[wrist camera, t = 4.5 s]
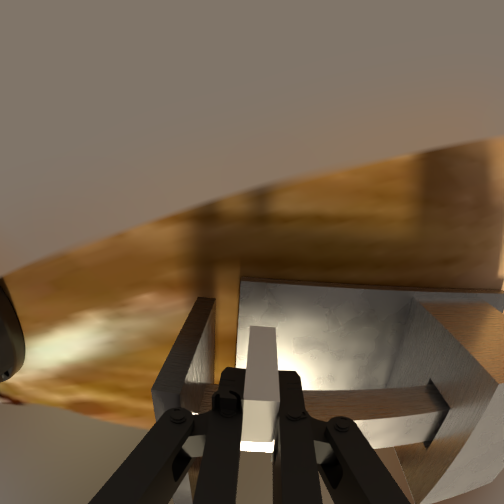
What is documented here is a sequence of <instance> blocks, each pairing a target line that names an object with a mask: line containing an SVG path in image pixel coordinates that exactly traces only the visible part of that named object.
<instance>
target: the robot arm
mask: <svg viewBox="0 0 504 504" xmlns="http://www.w3.org/2000/svg"><path fill="white" fill-rule="evenodd" d="M24 359H25V346H24V340H23V335H22V331H21V328H20V325H19V322H18V319H17V317H16V315H15V312H14V310H13V308H12V306H11V304H10V302H9V300H8V298H7V297H6V295H5V293H4V292H3V290H2V289H1V287H0V382H3V381H6V380H8V379H10V378H11V377H12V376H13V375H14V374H15V373H16V372H18V371H19V370H20V369H21V367H22V365H23V363H24ZM301 384H302V383H301V377H300V376H299V374H298V373H297V372H296V371H287V370H278V358H277V342H276V327H264V326H250V332H249V343H248V354H247V365H246V369H244V368H232V367H226V368H225V369H224V371H223V372H222V373H221V378H220V383H219V387H218V390H217V391H216V392H214V393H213V395H212V409H211V410H210V411H208V412H206V413H202V414H194V415H193V414H192V413H191V412H190V411H189V410H187V409H185V408H180V407H176V408H171V409H168V410H167V411H165V412H164V413H163V415H162V416H161V417H160V418H159V420H158V421H157V422H156V423H155V424H154V426H153V427H152V428H151V429H150V431H149V432H148V433H147V434H146V435H145V437H144V438H143V439H142V440H141V442H140V443H139V444H138V445H137V446H136V448H135V449H134V450H133V451H132V452H131V454H130V455H129V456H128V457H127V459H126V460H125V461H124V462H123V463H122V464H121V466H120V467H119V468H118V469H117V470H116V472H115V473H114V474H113V475H112V476H111V477H110V479H109V480H108V481H107V482H106V483H105V485H104V486H103V487H102V488H101V489H100V490H99V492H98V493H97V494H96V495H95V496H94V497H93V499H92V500H91V501H90V502H89V503H88V504H168V503H169V501H170V499H171V498H172V497H173V495H174V493H175V492H176V490H177V489H178V487H179V485H180V484H181V482H182V481H183V479H184V477H185V476H186V474H187V472H188V471H189V469H190V467H191V466H192V464H193V462H194V461H195V459H196V457H199V456H202V460H201V465H200V470H199V474H198V479H197V484H196V489H195V494H194V499H193V504H236V494H237V482H238V471H239V460H240V449H241V441H242V442H257V443H273V440H274V446H273V452H272V457H271V461H273V504H323V503H322V496H321V488H320V481H319V474H318V471H319V473H320V475H321V477H322V479H323V481H324V483H325V485H326V487H327V489H328V492H329V493H330V495H331V498H332V500H333V502H334V504H411V503H410V502H409V501H408V499H407V498H406V496H405V495H404V493H403V492H402V490H401V489H400V487H399V486H398V484H397V483H396V482H395V480H394V479H393V478H392V476H391V474H390V473H389V471H388V470H387V468H386V467H385V466H384V464H383V463H382V461H381V460H380V458H379V457H378V455H377V454H376V452H375V451H374V449H373V448H372V446H371V445H370V443H369V442H368V440H367V439H366V437H365V436H364V435H363V433H362V432H361V430H360V429H359V427H358V426H357V424H356V423H355V422H354V421H353V420H352V419H350V418H348V417H344V416H336V417H333V418H331V419H330V420H329V421H328V422H326V421H321V420H317V419H315V418H313V417H311V416H310V415H309V413H308V412H307V411H306V409H305V403H304V396H303V390H302V385H301Z"/></svg>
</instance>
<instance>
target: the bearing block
mask: <svg viewBox="0 0 504 504" xmlns="http://www.w3.org/2000/svg"><path fill="white" fill-rule="evenodd" d="M503 310H504V291H503V290H474V289H444V288H420V287H398V286H378V285H359V284H342V283H326V282H310V281H295V280H281V279H267V278H254V277H242V278H241V285H240V302H239V319H238V337H237V356H236V368H244V369H246V365H247V354H248V343H249V332H250V326H264V327H276V342H277V358H278V370H287V371H296V372H297V373H298V374H299V376H300V377H301V383H302V384H301V385H302V390H367V389H386V388H400V387H412V386H423V385H432V384H435V386H436V387H437V389H438V390H439V392H440V393H441V395H442V396H443V397H444V399H445V400H446V402H447V403H448V405H449V406H450V410H449V412H448V414H447V416H446V418H445V420H444V422H443V424H442V425H441V427H440V429H439V431H438V433H437V434H436V436H435V438H434V439H433V440H429V441H424V442H418V443H413V444H406V445H400V446H394V449H395V451H396V454H397V457H398V459H399V462H400V464H401V467H402V470H403V472H404V475H405V477H406V480H407V483H408V486H409V488H410V491H411V494H412V497H413V500H414V503H415V504H431V503H435V502H438V501H441V500H445V499H448V498H451V497H454V496H456V495H459V494H462V493H465V492H468V491H471V490H473V489H476V488H478V487H481V486H483V485H486V484H488V483H490V482H492V481H493V480H494V479H495V478H496V476H497V475H498V474H499V473H500V472H501V470H502V469H503V468H504V314H502V313H503Z"/></svg>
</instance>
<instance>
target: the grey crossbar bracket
mask: <svg viewBox="0 0 504 504" xmlns="http://www.w3.org/2000/svg"><path fill="white" fill-rule="evenodd" d="M215 307H216V299H215V298H204V297H198V298H197V300H196V302H195V304H194V306H193V308H192V310H191V312H190V314H189V316H188V318H187V319H186V321H185V323H184V325H183V327H182V329H181V331H180V333H179V335H178V337H177V339H176V341H175V343H174V345H173V347H172V349H171V351H170V353H169V355H168V357H167V359H166V361H165V363H164V365H163V367H162V369H161V371H160V373H159V375H158V377H157V379H156V381H155V383H154V385H153V387H152V389H151V392H152V399H153V405H154V412H155V418H156V422H157V421H158V420H159V418H160V417H161V416H162V415H163V413H164V412H165V411H167V410H168V409H171V408H176V407H180V408H185V409H187V410H189V411H190V412H191V413H192V414H193V415H194V414H202V413H206V412H208V411H210V410H211V409H212V395H213V393H214V392H216V391H217V390H218V387H219V384H214V359H215ZM303 396H304V403H305V409H306V411H307V412H308V413H309V415H310V416H311V417H313V418H315V419H317V420H321V421H326V422H328V421H329V420H330V419H331V418H333V417H336V416H344V417H348V418H350V419H352V420H353V421H354V422H355V423H356V424H357V426H358V427H359V429H360V430H361V432H362V433H363V435H364V436H365V437H366V439H367V440H368V442H369V443H370V445H371V446H372V448H373V449H377V448H385V447H392V446H400V445H406V444H413V443H418V442H424V441H429V440H433V439H434V438H435V436H436V434H437V433H438V431H439V429H440V427H441V425H442V424H443V422H444V420H445V418H446V416H447V414H448V412H449V410H450V406H449V405H448V403H447V402H446V400H445V399H444V397H443V396H442V395H441V393H440V392H439V390H438V389H437V387H436V386H435V384H432V385H423V386H412V387H400V388H386V389H367V390H303ZM273 446H274V440H273V443H257V442H242V441H241V449H240V450H244V451H245V450H246V451H258V452H273ZM201 460H202V456H199V457H196V459H195V461H194V462H193V464H192V466H191V467H190V469H189V471H188V472H187V474H186V476H185V477H184V479H183V481H182V482H181V484H180V485H179V487H178V489H177V490H176V492H175V493H174V495H173V497H172V498H173V502H174V504H193V499H194V494H195V489H196V484H197V479H198V474H199V470H200V465H201Z"/></svg>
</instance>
